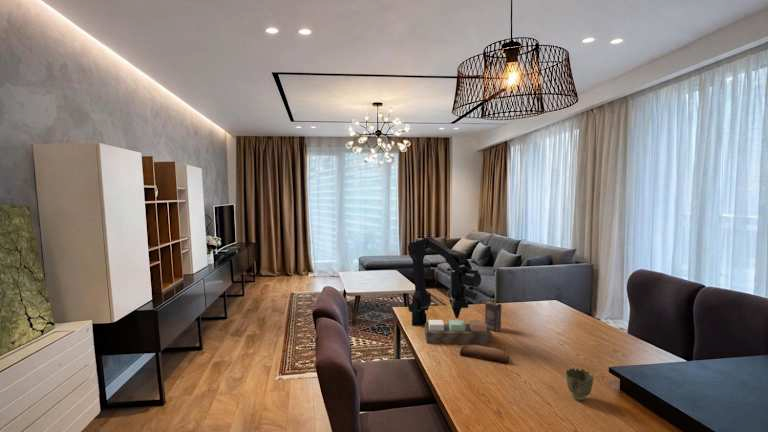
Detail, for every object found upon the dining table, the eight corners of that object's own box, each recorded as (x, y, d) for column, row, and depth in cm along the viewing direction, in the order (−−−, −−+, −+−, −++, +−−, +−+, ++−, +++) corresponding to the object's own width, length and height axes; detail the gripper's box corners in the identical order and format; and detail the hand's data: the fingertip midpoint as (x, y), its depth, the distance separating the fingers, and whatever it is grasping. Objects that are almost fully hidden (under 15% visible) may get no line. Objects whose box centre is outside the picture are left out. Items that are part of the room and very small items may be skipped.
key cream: (429, 335, 156) (429, 324, 156) (428, 329, 162) (428, 319, 162) (443, 335, 156) (443, 324, 156) (442, 329, 162) (442, 319, 162)
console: (426, 343, 154) (426, 332, 154) (424, 333, 165) (424, 323, 164) (491, 343, 153) (491, 333, 153) (485, 334, 164) (485, 324, 164)
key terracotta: (472, 335, 156) (472, 325, 155) (469, 330, 162) (469, 320, 161) (486, 335, 155) (486, 325, 155) (483, 330, 161) (483, 320, 161)
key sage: (450, 335, 156) (451, 324, 156) (448, 330, 162) (449, 320, 162) (465, 335, 156) (465, 325, 155) (462, 330, 162) (462, 320, 161)
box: (501, 329, 169) (501, 303, 169) (495, 331, 167) (496, 305, 166) (490, 325, 174) (490, 300, 173) (484, 328, 171) (484, 302, 170)
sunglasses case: (510, 354, 142) (510, 343, 139) (509, 370, 137) (508, 359, 134) (464, 347, 150) (462, 336, 146) (460, 362, 144) (459, 351, 141)
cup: (560, 392, 115) (561, 368, 115) (582, 391, 116) (583, 367, 116) (574, 406, 108) (575, 380, 108) (598, 405, 109) (599, 378, 108)
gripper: (481, 288, 148) (480, 326, 149) (471, 277, 167) (471, 311, 168) (453, 287, 148) (453, 325, 149) (447, 277, 167) (446, 310, 168)
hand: (456, 317), depth 158 cm, fingers closed
